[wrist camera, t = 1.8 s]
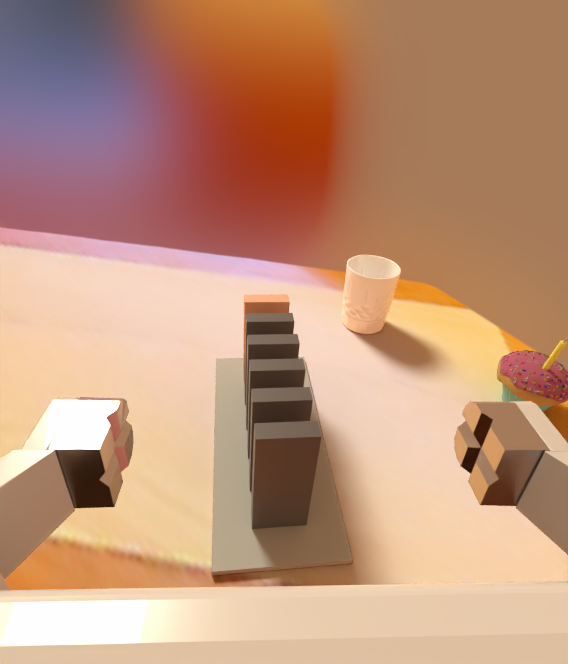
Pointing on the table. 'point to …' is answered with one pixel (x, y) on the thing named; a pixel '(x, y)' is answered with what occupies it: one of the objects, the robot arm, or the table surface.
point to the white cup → (368, 292)
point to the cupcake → (534, 377)
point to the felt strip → (235, 497)
